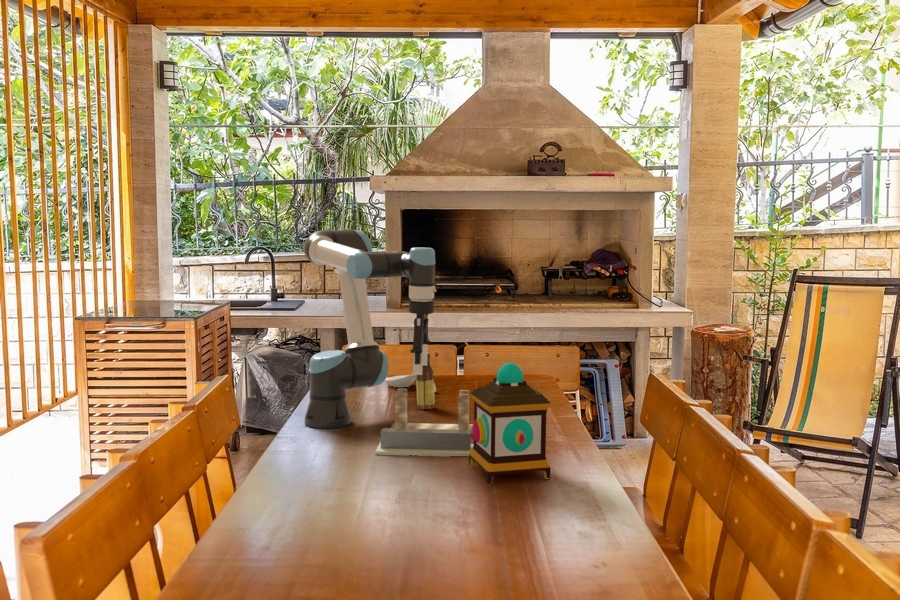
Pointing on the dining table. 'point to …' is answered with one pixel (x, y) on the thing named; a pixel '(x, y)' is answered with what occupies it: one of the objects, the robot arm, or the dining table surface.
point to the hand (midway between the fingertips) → (420, 369)
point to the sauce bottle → (425, 387)
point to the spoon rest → (403, 381)
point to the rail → (425, 439)
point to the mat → (421, 452)
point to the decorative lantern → (509, 426)
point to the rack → (402, 423)
